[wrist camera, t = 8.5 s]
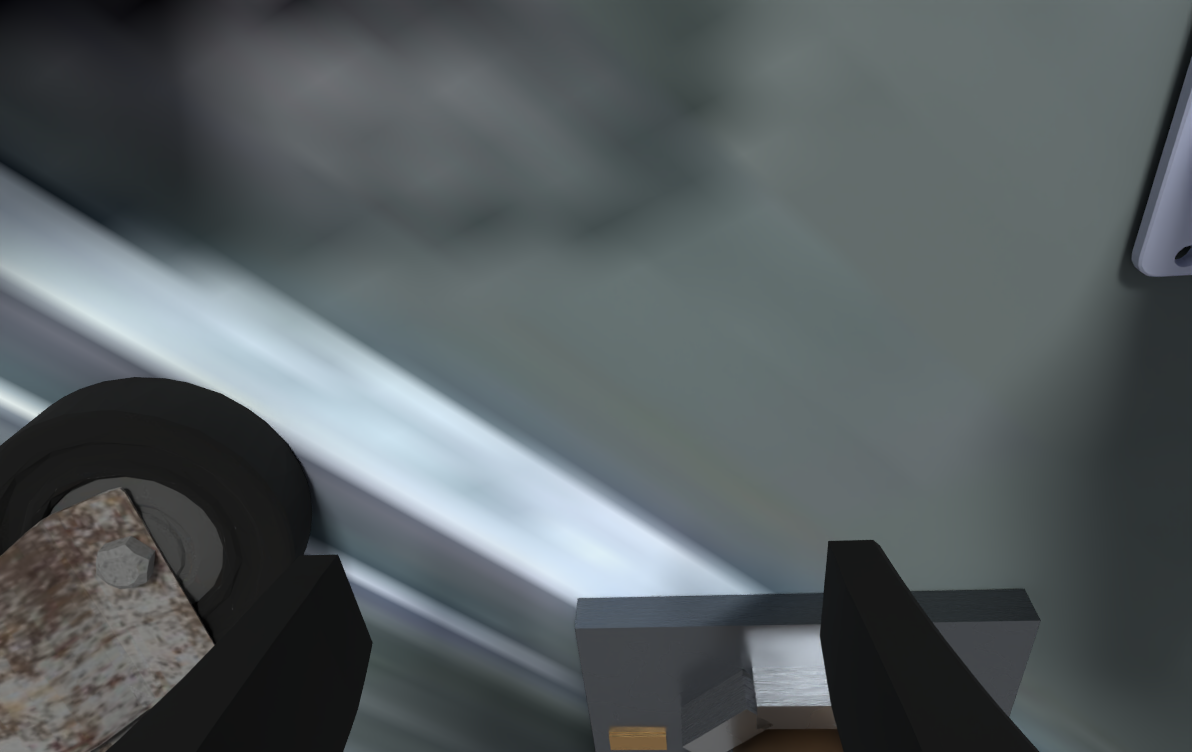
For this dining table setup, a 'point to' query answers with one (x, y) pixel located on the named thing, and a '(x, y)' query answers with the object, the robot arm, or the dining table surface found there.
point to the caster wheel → (132, 551)
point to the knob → (793, 741)
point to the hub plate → (757, 663)
